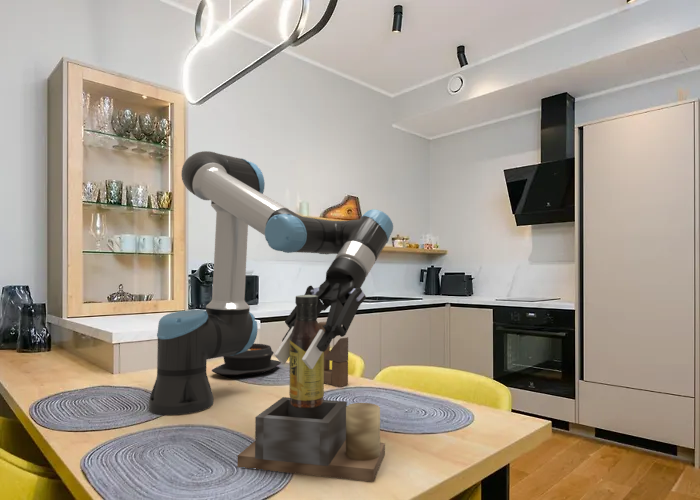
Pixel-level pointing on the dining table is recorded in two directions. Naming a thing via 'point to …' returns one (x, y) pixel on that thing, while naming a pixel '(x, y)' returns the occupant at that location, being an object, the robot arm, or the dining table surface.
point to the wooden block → (336, 362)
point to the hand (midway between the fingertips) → (293, 361)
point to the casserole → (248, 362)
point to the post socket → (317, 440)
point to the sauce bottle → (302, 379)
